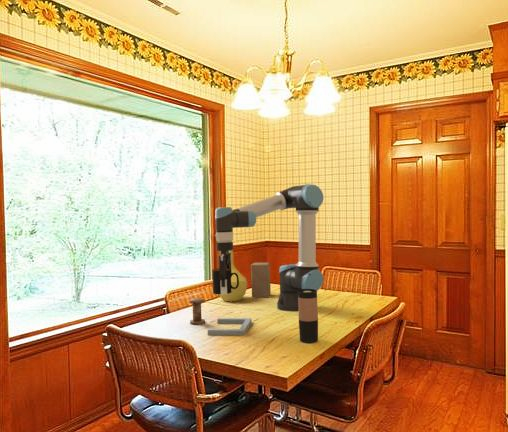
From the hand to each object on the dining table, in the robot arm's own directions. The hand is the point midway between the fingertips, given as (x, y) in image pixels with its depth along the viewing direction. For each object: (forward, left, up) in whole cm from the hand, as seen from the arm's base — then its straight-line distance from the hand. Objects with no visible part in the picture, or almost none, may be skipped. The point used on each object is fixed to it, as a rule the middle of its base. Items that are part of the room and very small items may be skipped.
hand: (226, 292), depth 188 cm
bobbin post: (+16, -9, -16) cm, 25 cm away
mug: (0, 0, 0) cm, 0 cm away
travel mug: (-37, +16, -17) cm, 43 cm away
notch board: (-2, 0, -16) cm, 16 cm away
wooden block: (-7, -70, -17) cm, 72 cm away
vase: (+9, -59, -17) cm, 62 cm away
